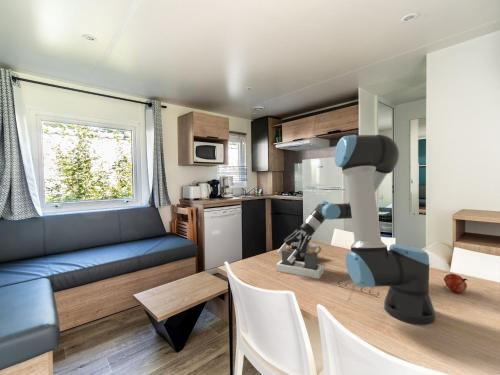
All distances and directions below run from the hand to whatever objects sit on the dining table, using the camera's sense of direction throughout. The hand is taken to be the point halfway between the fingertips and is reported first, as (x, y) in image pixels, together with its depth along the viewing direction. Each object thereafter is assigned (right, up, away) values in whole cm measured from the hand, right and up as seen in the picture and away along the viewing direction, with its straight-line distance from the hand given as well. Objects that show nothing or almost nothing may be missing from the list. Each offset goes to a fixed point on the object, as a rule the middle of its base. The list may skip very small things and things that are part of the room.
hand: (283, 257), depth 130 cm
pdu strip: (+8, -7, -2) cm, 11 cm away
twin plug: (+13, -7, -5) cm, 15 cm away
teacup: (+17, -6, +19) cm, 26 cm away
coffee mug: (+9, -6, +14) cm, 18 cm away
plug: (+3, -6, +1) cm, 7 cm away
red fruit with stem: (+67, -7, -26) cm, 72 cm away
